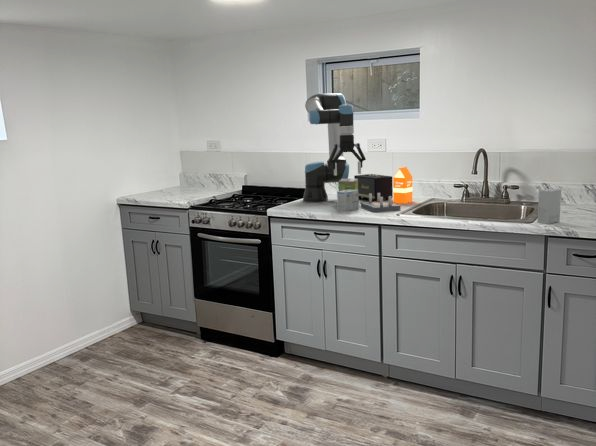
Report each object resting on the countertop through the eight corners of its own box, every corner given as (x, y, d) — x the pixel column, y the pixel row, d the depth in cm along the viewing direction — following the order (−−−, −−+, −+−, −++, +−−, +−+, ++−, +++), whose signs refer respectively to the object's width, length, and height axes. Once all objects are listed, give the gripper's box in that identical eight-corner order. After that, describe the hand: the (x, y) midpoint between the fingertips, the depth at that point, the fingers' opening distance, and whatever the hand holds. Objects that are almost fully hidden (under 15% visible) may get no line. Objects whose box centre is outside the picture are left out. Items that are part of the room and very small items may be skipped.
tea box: (355, 207, 309) (355, 180, 306) (338, 207, 311) (337, 181, 308) (358, 203, 323) (358, 177, 321) (341, 203, 325) (340, 178, 323)
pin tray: (360, 207, 308) (360, 193, 307) (385, 205, 312) (385, 192, 310) (374, 212, 290) (373, 198, 288) (400, 210, 293) (400, 196, 292)
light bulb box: (349, 208, 306) (349, 188, 304) (359, 209, 302) (358, 189, 300) (337, 210, 299) (336, 191, 297) (346, 212, 294) (346, 191, 292)
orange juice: (412, 201, 322) (412, 167, 318) (405, 203, 315) (405, 168, 312) (400, 200, 327) (400, 166, 323) (393, 202, 320) (392, 168, 316)
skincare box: (548, 220, 252) (550, 187, 250) (560, 222, 247) (562, 189, 244) (536, 222, 248) (537, 189, 245) (548, 224, 243) (550, 190, 240)
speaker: (354, 198, 342) (354, 174, 339) (371, 196, 348) (371, 172, 345) (375, 202, 323) (375, 176, 320) (392, 200, 329) (392, 175, 326)
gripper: (326, 135, 286) (327, 176, 290) (371, 133, 292) (371, 173, 296) (322, 135, 293) (323, 175, 297) (366, 133, 299) (366, 172, 303)
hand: (347, 174), depth 297 cm, fingers open, 13 cm apart
